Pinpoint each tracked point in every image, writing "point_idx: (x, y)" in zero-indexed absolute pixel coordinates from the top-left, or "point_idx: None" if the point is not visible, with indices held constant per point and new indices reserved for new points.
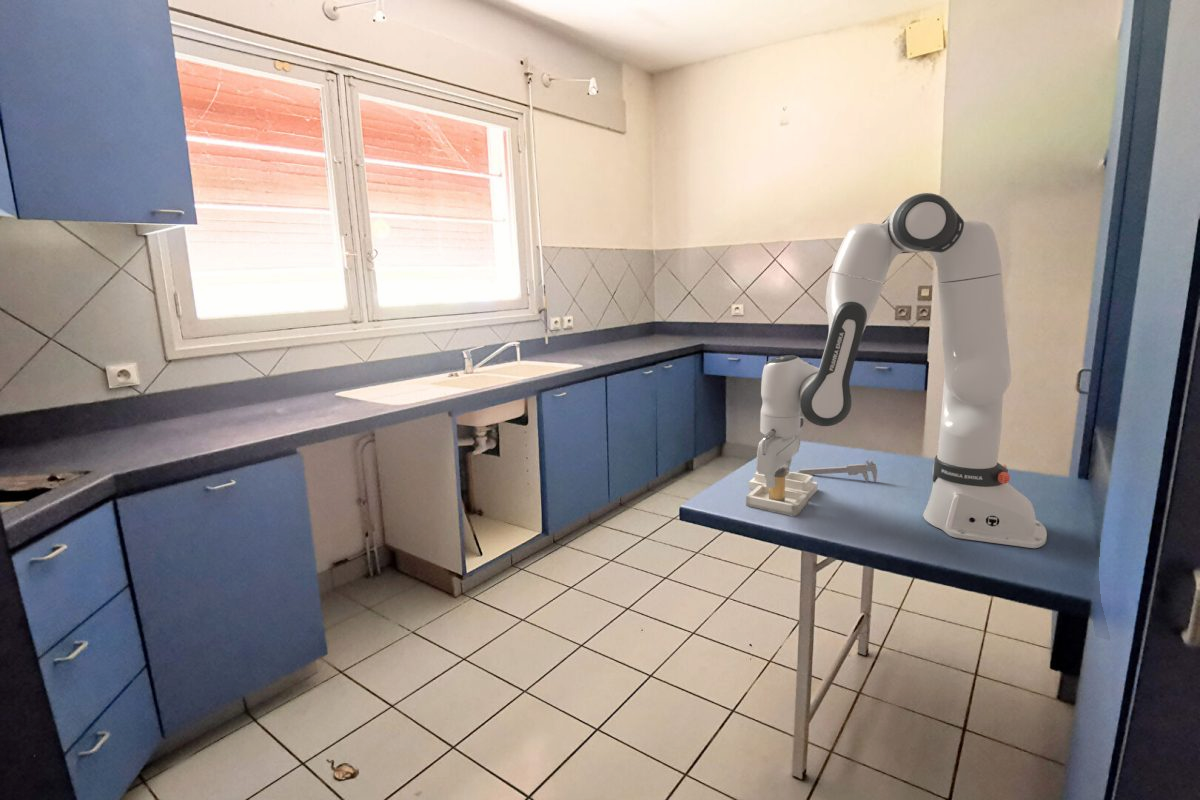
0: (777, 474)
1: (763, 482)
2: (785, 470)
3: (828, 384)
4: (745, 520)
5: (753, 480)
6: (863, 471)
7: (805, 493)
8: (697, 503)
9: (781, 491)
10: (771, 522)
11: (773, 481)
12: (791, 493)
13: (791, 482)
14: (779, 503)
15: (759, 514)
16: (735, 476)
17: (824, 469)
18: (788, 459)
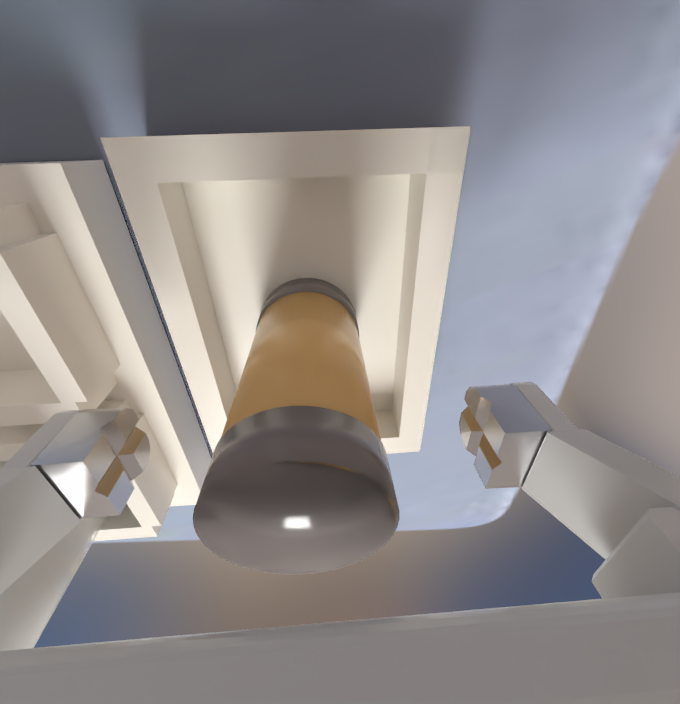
0: (389, 476)
1: (165, 462)
2: (256, 467)
3: None
4: (570, 355)
5: (175, 497)
6: None
7: (124, 165)
8: (456, 521)
9: (340, 328)
10: (570, 242)
11: (589, 432)
12: (190, 279)
13: (67, 341)
14: (445, 276)
15: (480, 333)
16: (135, 540)
17: None
18: (66, 692)
